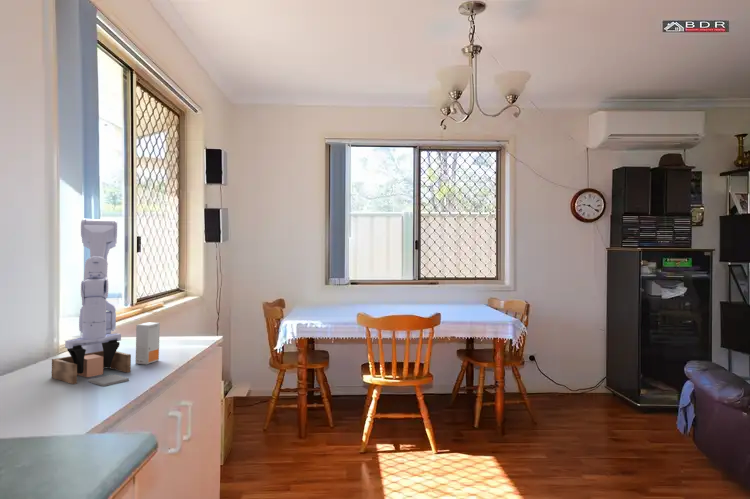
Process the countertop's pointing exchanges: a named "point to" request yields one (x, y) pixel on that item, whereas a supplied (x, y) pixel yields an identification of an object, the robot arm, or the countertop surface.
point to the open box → (68, 370)
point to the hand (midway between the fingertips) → (93, 370)
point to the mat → (108, 380)
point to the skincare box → (147, 342)
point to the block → (92, 365)
